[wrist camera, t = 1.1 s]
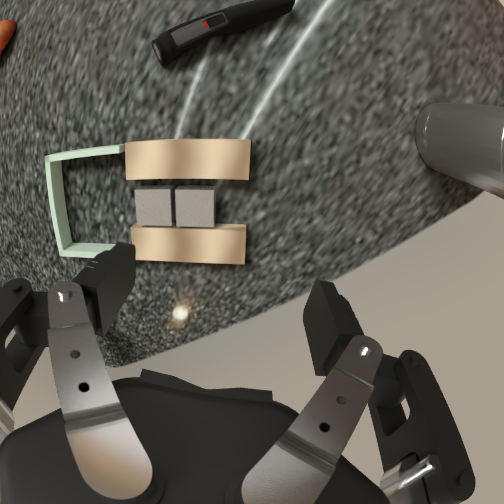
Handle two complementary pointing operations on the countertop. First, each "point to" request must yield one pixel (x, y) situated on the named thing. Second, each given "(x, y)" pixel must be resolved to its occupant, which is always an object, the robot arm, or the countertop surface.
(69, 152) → the box
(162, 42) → the electric trimmer
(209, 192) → the metal chip
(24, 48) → the countertop surface
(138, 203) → the metal chip
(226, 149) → the slot rails
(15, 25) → the tomato
